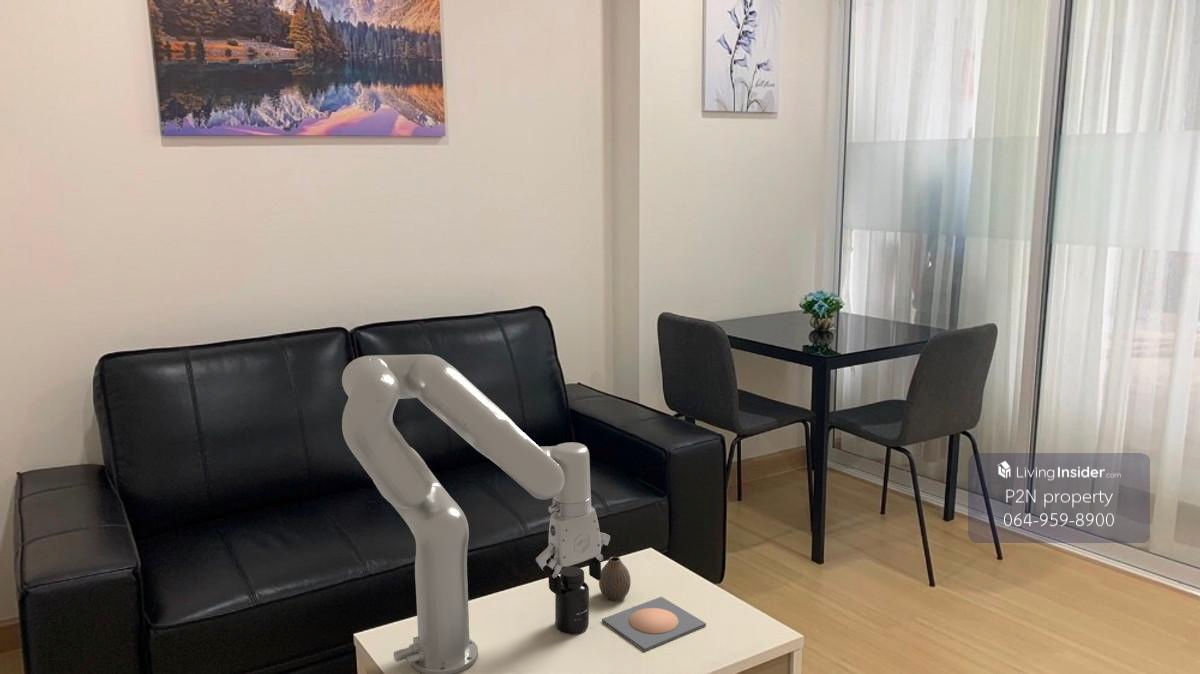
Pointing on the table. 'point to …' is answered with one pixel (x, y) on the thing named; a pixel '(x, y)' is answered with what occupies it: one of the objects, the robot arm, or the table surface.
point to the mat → (653, 623)
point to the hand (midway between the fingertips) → (575, 585)
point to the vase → (614, 580)
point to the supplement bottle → (572, 602)
